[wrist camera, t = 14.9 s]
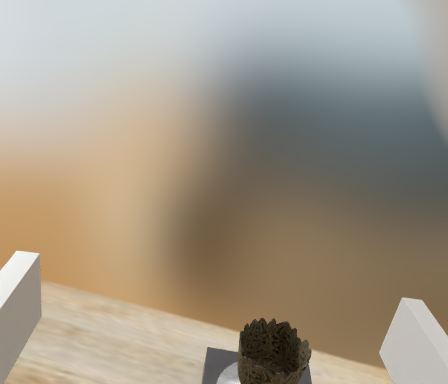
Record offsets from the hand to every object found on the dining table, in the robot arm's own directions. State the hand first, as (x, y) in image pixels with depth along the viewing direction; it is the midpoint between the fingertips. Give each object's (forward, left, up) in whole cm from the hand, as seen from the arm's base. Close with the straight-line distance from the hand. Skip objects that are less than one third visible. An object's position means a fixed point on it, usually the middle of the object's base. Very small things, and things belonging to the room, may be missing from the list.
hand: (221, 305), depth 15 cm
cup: (+7, +21, -28) cm, 36 cm away
